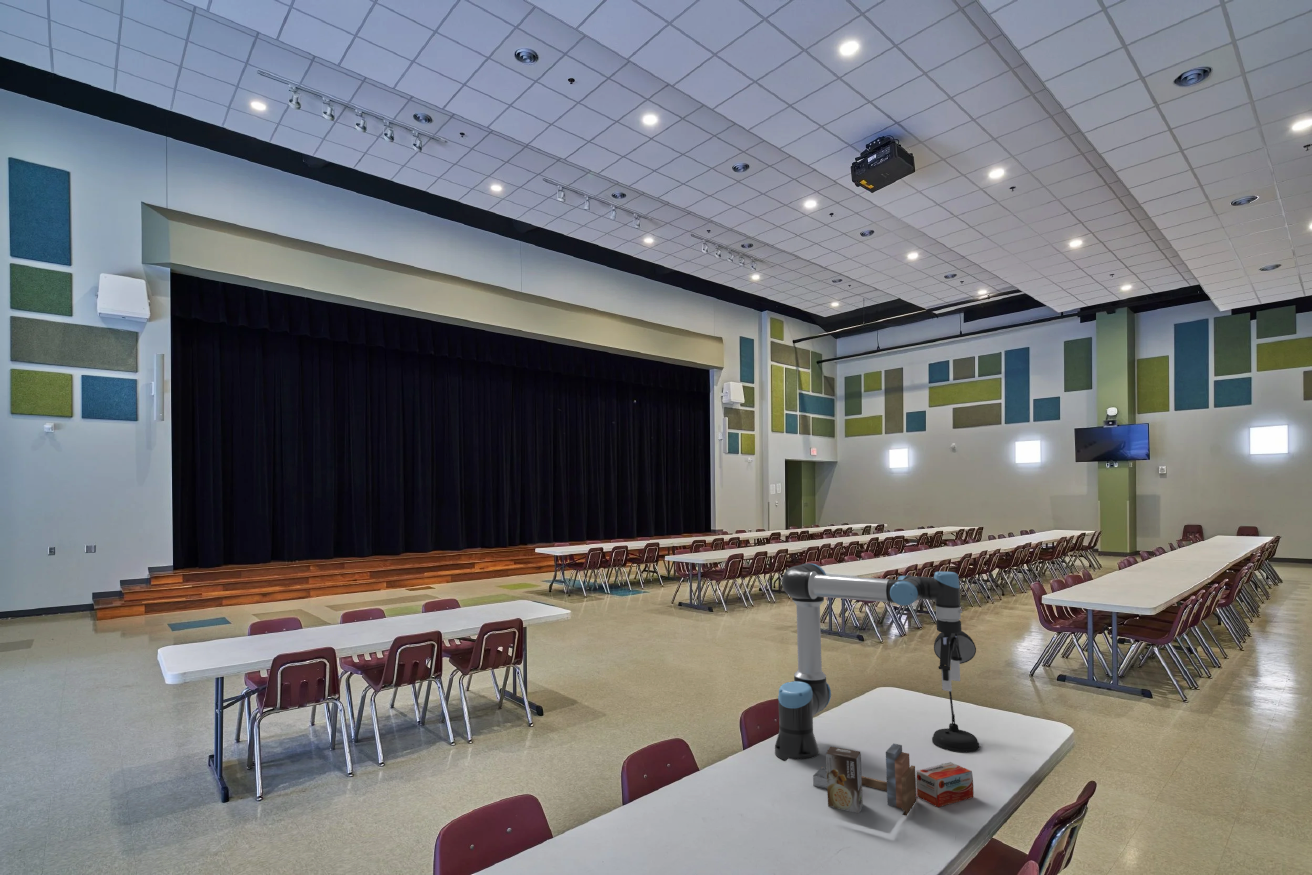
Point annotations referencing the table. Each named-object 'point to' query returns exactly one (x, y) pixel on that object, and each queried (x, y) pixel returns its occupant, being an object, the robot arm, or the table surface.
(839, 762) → the coffee box
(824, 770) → the grey stepped block
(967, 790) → the medicine box
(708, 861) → the table surface
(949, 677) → the robot arm
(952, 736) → the desk lamp
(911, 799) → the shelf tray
